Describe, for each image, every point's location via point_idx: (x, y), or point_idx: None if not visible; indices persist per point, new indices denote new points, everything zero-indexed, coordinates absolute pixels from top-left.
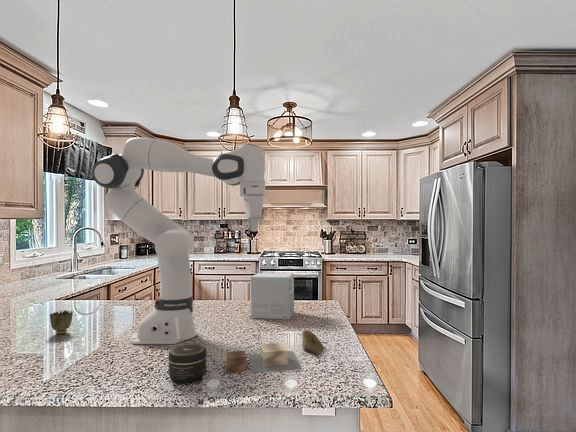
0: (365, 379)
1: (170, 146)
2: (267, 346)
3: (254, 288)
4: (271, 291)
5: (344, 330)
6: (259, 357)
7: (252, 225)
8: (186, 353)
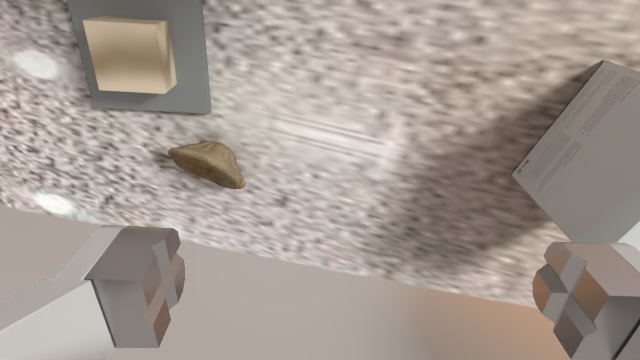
0: (67, 202)
1: None
2: (132, 41)
3: None
4: (609, 169)
5: (355, 264)
6: (170, 16)
7: (31, 294)
8: None
